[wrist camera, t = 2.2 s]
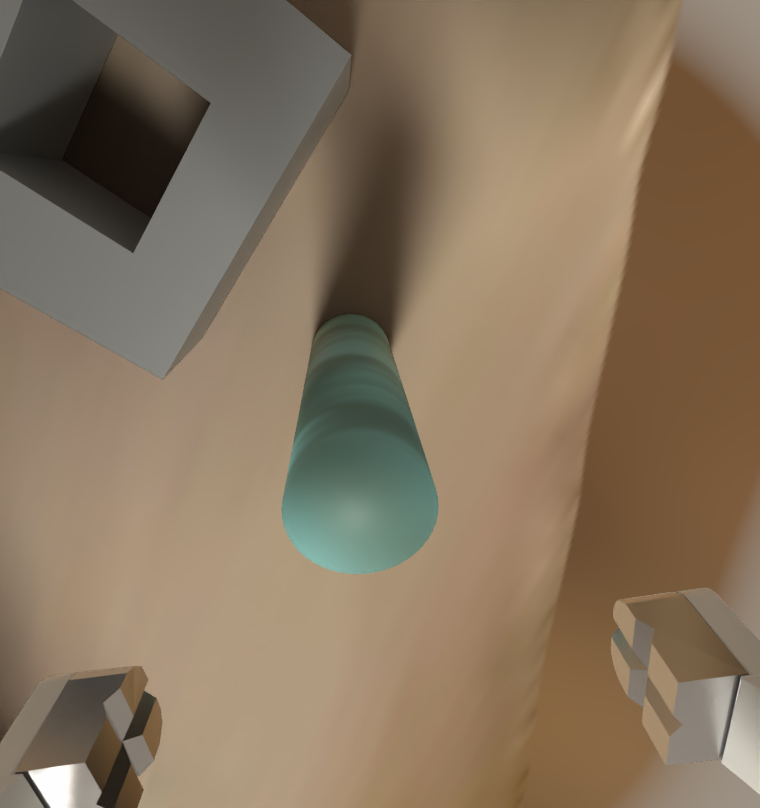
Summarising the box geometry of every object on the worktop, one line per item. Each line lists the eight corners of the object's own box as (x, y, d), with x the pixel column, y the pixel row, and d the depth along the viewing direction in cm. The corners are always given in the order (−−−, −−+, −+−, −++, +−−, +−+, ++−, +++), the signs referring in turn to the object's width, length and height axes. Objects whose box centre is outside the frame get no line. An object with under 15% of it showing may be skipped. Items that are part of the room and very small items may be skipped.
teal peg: (361, 402, 27) (379, 595, 14) (296, 362, 26) (252, 532, 13) (405, 342, 26) (469, 491, 13) (339, 297, 25) (338, 412, 12)
